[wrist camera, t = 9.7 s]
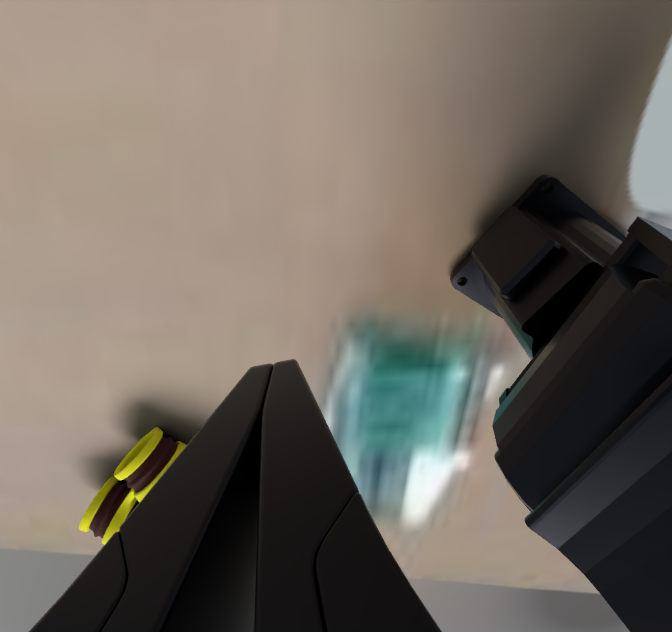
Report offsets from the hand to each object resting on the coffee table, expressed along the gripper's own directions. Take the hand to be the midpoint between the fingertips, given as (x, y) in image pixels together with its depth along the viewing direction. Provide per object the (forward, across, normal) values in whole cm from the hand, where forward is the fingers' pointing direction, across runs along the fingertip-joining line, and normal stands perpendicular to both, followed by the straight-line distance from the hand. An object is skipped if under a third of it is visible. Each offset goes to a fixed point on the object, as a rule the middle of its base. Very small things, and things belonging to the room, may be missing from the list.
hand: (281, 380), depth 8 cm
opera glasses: (+13, +14, +17) cm, 26 cm away
